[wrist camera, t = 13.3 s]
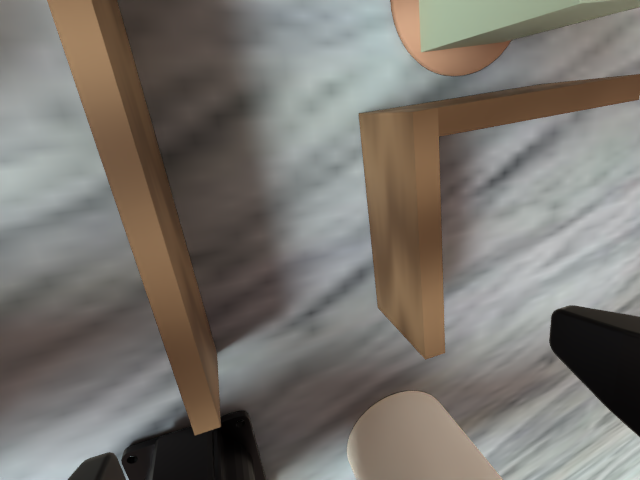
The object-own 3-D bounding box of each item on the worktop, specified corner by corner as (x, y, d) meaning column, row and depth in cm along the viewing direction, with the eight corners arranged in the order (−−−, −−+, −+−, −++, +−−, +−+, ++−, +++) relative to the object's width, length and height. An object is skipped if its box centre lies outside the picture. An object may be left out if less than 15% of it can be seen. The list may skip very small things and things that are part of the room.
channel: (531, 263, 23) (609, 298, 19) (197, 359, 19) (194, 435, 14) (556, -161, 16) (692, -268, 12) (35, -168, 12) (-70, -345, 7)
